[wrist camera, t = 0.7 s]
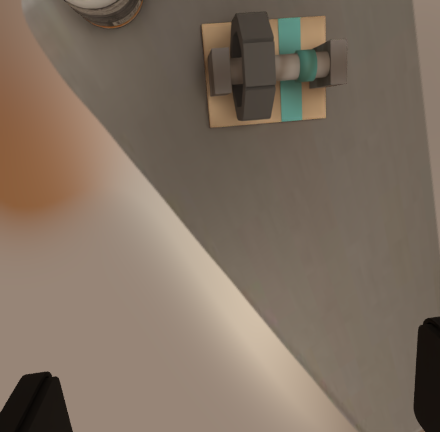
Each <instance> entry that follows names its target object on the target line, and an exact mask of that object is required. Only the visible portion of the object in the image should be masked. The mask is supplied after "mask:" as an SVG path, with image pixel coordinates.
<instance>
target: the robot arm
mask: <svg viewBox="0 0 440 432" xmlns="http://www.w3.org/2000/svg"><path fill="white" fill-rule="evenodd" d="M414 413H415V416H416V419H417V421H418V422H419V424H420V425H421V427H422V428H423V429H424V431H425V432H440V317H433V318H427V319H425V321H424V322H423V325H420V326H419V329H418V341H417V358H416V375H415V391H414ZM0 432H73V431H72V427H71V423H70V419H69V415H68V412H67V408H66V404H65V400H64V396H63V393H62V388H61V385H60V381H59V378H58V377H52V375H51V373H50V372H40V373H33V374H26V375H24V376H22V378H21V379H20V381H19V382H18V384H17V386H16V387H15V389H14V391H13V392H12V394H11V396H10V398H9V399H8V401H7V402H6V404H5V406H4V408H3V409H2V411H1V412H0Z"/></svg>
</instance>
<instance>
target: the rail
mask: <svg viewBox="0 0 440 432" xmlns="http://www.w3.org/2000/svg"><path fill="white" fill-rule="evenodd" d="M269 22H270V26H271V29H272V32H273V36H274V40H273V41H275V67H276V85H275V87H276V91H275V97H274V103H273V108H272V114H271V117H270V119H262V120H250V121H239V120H238V119H237V115H236V110H235V105H234V100H233V92H232V85H235V84H243V73H242V57H240V58H230V40H231V25H232V24H231V22H227V23H212V24H202V26H201V28H202V40H203V52H204V64H205V75H206V87H207V99H208V111H209V123H210V128H214V127H226V126H237V125H249V124H260V123H272V122H284V121H296V120H307V119H318V118H326V87H330V86H336V85H342V84H347V39H336V40H329V41H327V42H325V16H316V17H301V18H300V17H297V18H282V19H271V20H269Z"/></svg>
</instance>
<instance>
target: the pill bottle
mask: <svg viewBox="0 0 440 432" xmlns="http://www.w3.org/2000/svg"><path fill="white" fill-rule="evenodd" d="M64 1H65V2H67V3H68V4H69V5H70V6H71V7H72V8H73V9H74V10H75V11H76V12H77V13H79V14H80V15H81V16H82V17H83V18H85V19H86V20H87V21H89V22H90V23H92V24H94V25H96V26H99V27H102V28H118V27H122V26H124V25H126V24H128V23H129V22H130V21H132V20H133V19H134V18H135V17H136V15H137V14H138V12H139V10H140V8H141V6H142V3H143V0H64Z"/></svg>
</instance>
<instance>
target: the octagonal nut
mask: <svg viewBox="0 0 440 432" xmlns="http://www.w3.org/2000/svg"><path fill="white" fill-rule="evenodd" d="M231 24H232V25H231V40H230V58H240V57H242V73H243V84H235V85H232V92H233V100H234V105H235V110H236V115H237V119H238V120H239V121H250V120H262V119H270V117H271V114H272V108H273V103H274V97H275V91H276V87H275V85H276V67H275V41H273V40H274V36H273V32H272V29H271V26H270V22H269V19H268V16H267V12H251V13H236V15H235V17H234V18H233V20H232V22H231Z"/></svg>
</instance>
